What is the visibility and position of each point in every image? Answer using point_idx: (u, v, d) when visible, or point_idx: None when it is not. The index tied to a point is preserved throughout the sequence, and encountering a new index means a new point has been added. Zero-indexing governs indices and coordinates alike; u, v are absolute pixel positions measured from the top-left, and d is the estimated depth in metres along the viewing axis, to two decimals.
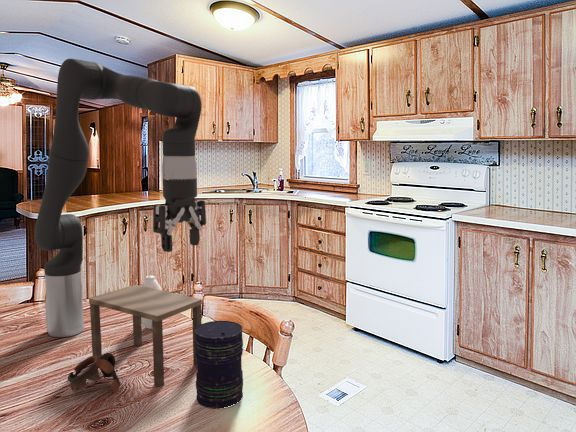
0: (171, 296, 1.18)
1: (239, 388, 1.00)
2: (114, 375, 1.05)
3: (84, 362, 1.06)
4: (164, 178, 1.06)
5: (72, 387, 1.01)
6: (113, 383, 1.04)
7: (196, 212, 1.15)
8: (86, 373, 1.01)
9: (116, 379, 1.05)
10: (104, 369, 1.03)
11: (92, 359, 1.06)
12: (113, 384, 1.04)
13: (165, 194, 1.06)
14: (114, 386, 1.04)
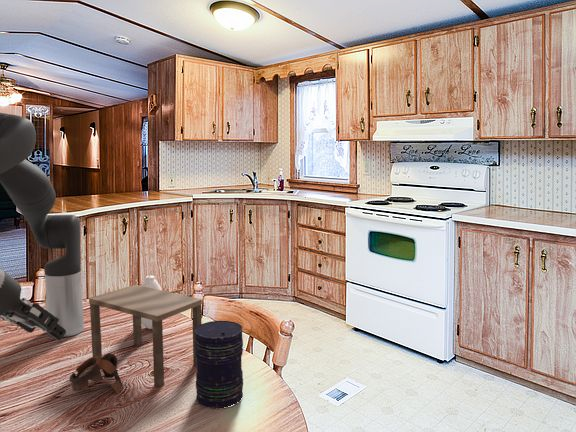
0: (171, 296, 1.18)
1: (239, 388, 1.00)
2: (116, 376, 1.04)
3: (86, 363, 1.06)
4: None
5: (74, 388, 1.01)
6: (115, 384, 1.04)
7: None
8: (88, 374, 1.00)
9: (118, 380, 1.05)
10: (106, 370, 1.03)
11: (94, 360, 1.06)
12: (115, 385, 1.03)
13: None
14: (116, 386, 1.03)
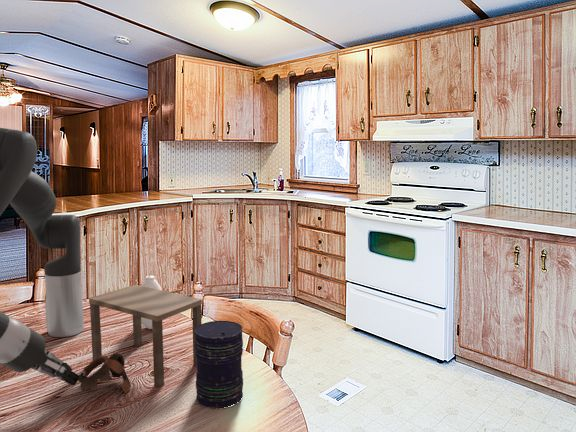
0: (171, 296, 1.18)
1: (239, 388, 1.00)
2: (125, 375, 1.04)
3: (94, 362, 1.06)
4: None
5: (83, 388, 1.01)
6: (124, 383, 1.04)
7: None
8: (97, 373, 1.00)
9: (127, 379, 1.05)
10: (115, 369, 1.03)
11: (102, 359, 1.06)
12: (124, 384, 1.03)
13: None
14: (125, 386, 1.04)
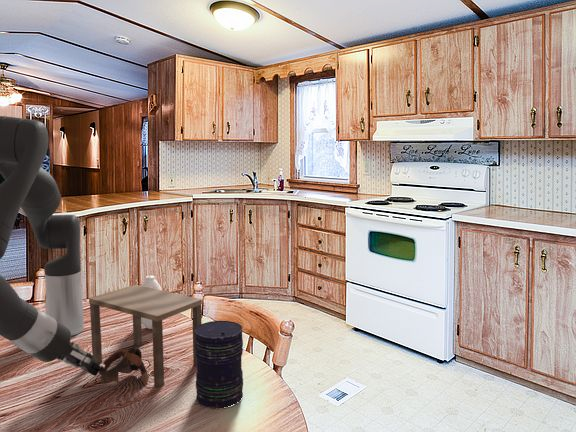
0: (171, 296, 1.18)
1: (239, 388, 1.00)
2: (144, 368, 1.08)
3: (113, 356, 1.09)
4: None
5: (104, 380, 1.04)
6: (143, 375, 1.07)
7: None
8: (118, 366, 1.04)
9: (145, 372, 1.08)
10: (135, 362, 1.06)
11: (121, 353, 1.09)
12: (143, 376, 1.07)
13: None
14: (144, 378, 1.07)
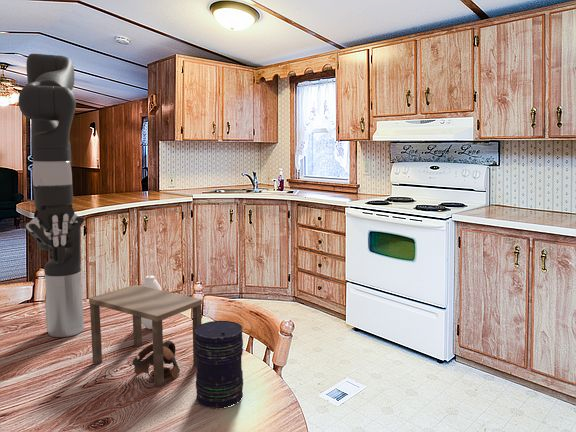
0: (171, 296, 1.18)
1: (239, 388, 1.00)
2: (174, 362, 1.11)
3: (147, 348, 1.14)
4: (33, 184, 1.01)
5: (136, 371, 1.09)
6: (173, 369, 1.10)
7: (69, 226, 1.08)
8: (149, 358, 1.08)
9: (176, 366, 1.12)
10: (165, 355, 1.10)
11: None
12: (173, 370, 1.10)
13: (35, 201, 1.01)
14: (174, 372, 1.10)
